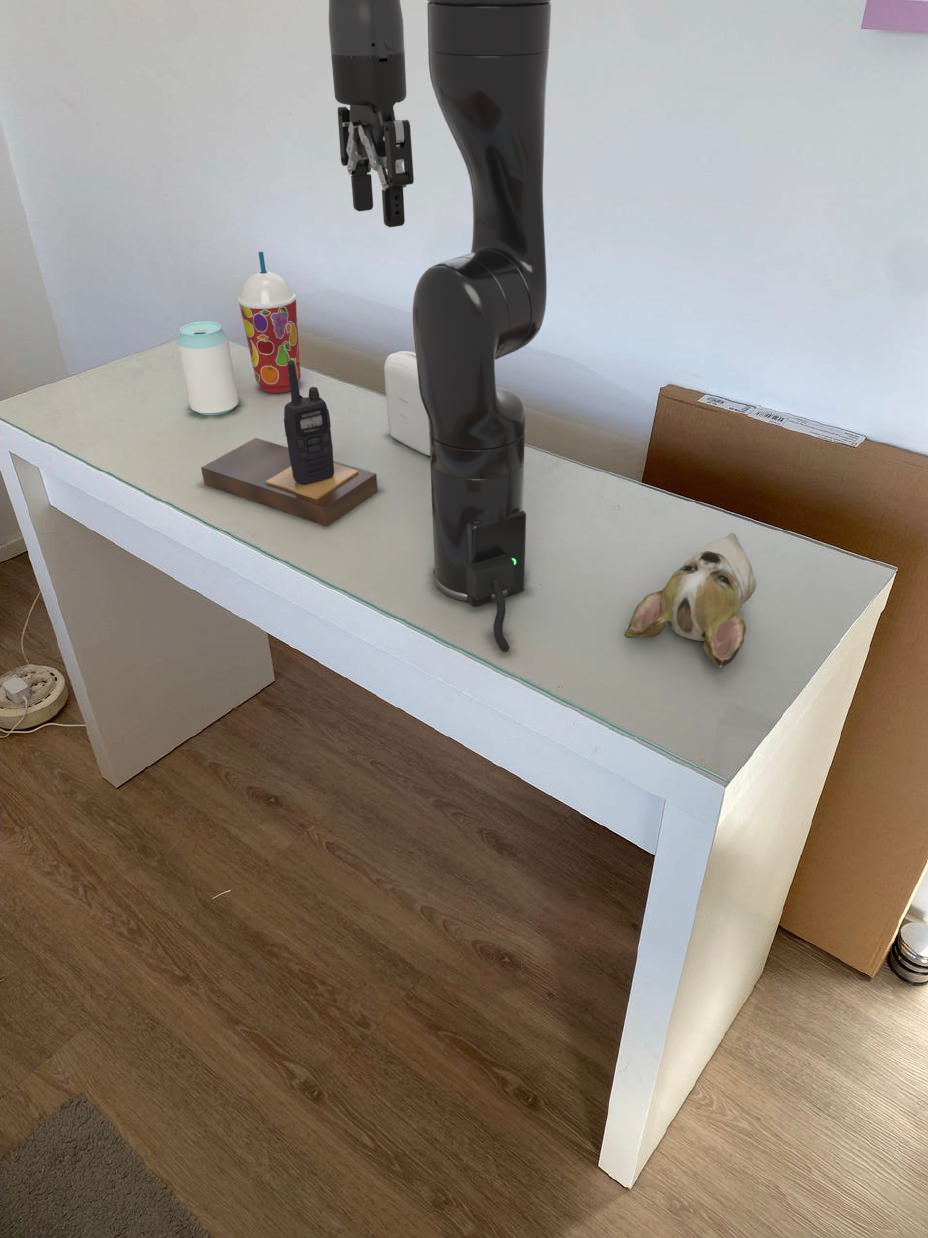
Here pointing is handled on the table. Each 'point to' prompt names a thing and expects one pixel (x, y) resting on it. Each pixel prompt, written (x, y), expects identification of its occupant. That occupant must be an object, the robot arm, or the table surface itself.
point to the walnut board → (288, 482)
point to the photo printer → (406, 402)
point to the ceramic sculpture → (702, 601)
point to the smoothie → (270, 328)
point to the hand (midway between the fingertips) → (378, 217)
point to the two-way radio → (308, 433)
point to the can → (207, 368)
